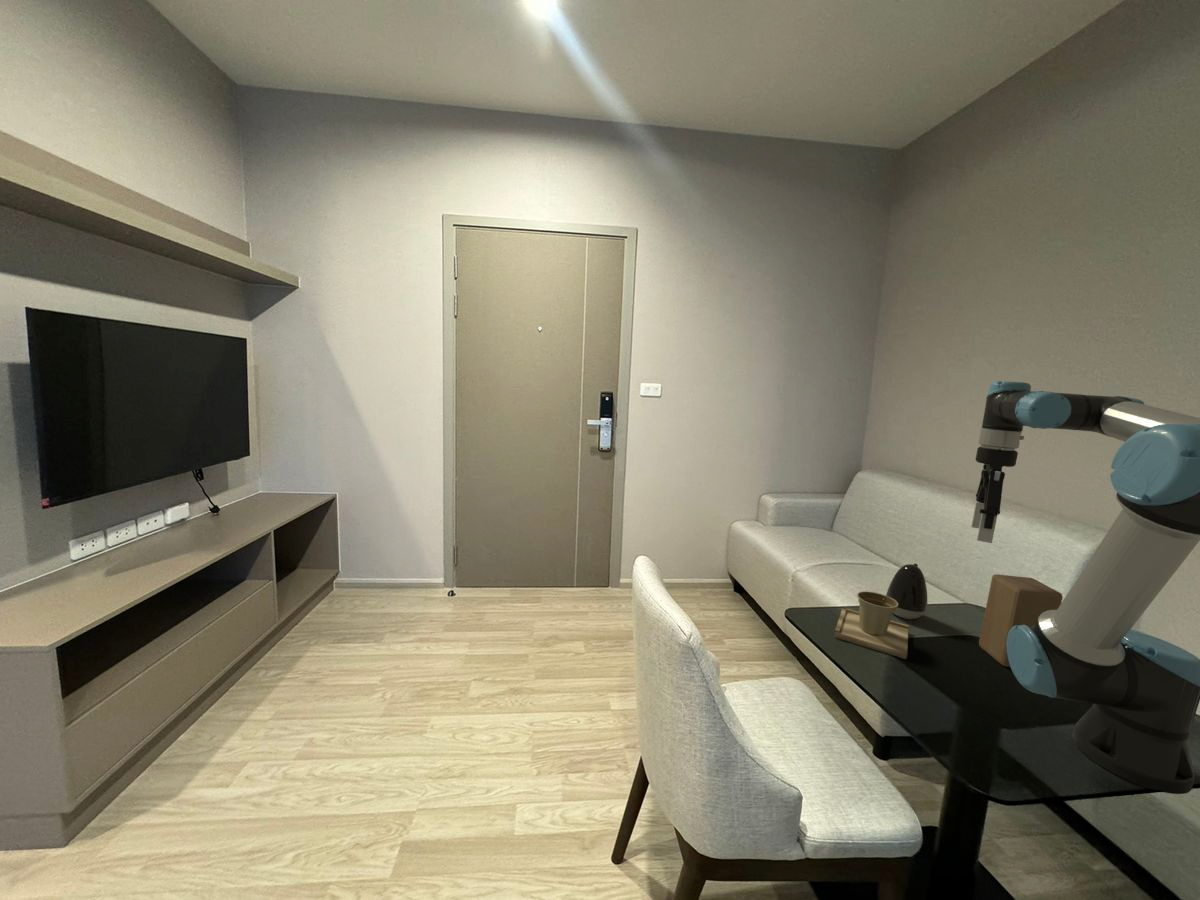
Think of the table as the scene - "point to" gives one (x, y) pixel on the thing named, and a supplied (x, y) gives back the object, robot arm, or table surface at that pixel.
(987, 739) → the table surface
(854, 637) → the board
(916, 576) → the black egg-shaped piece
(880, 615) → the flower pot
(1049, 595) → the wooden block
